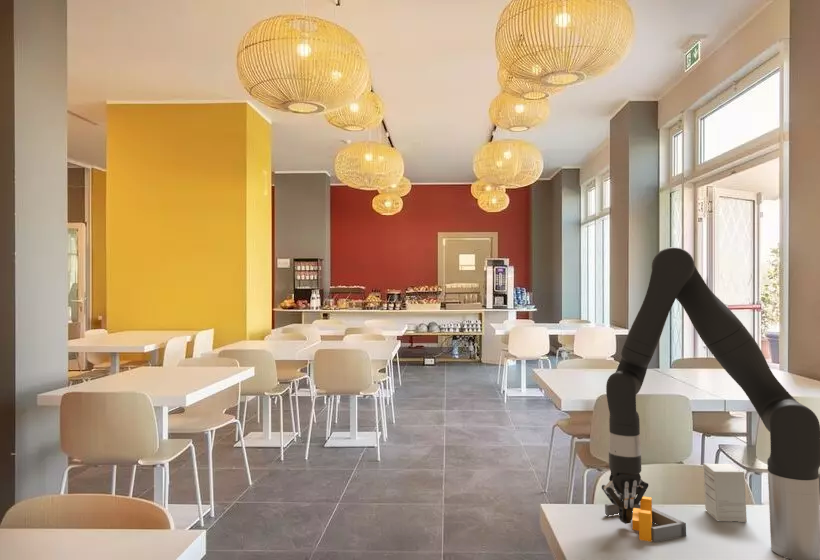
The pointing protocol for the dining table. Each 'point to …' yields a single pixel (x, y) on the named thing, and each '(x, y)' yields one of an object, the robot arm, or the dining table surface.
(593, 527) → the dining table surface
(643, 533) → the pipe clamp
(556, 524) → the dining table surface
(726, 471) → the supplement box
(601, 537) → the dining table surface
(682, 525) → the frame
